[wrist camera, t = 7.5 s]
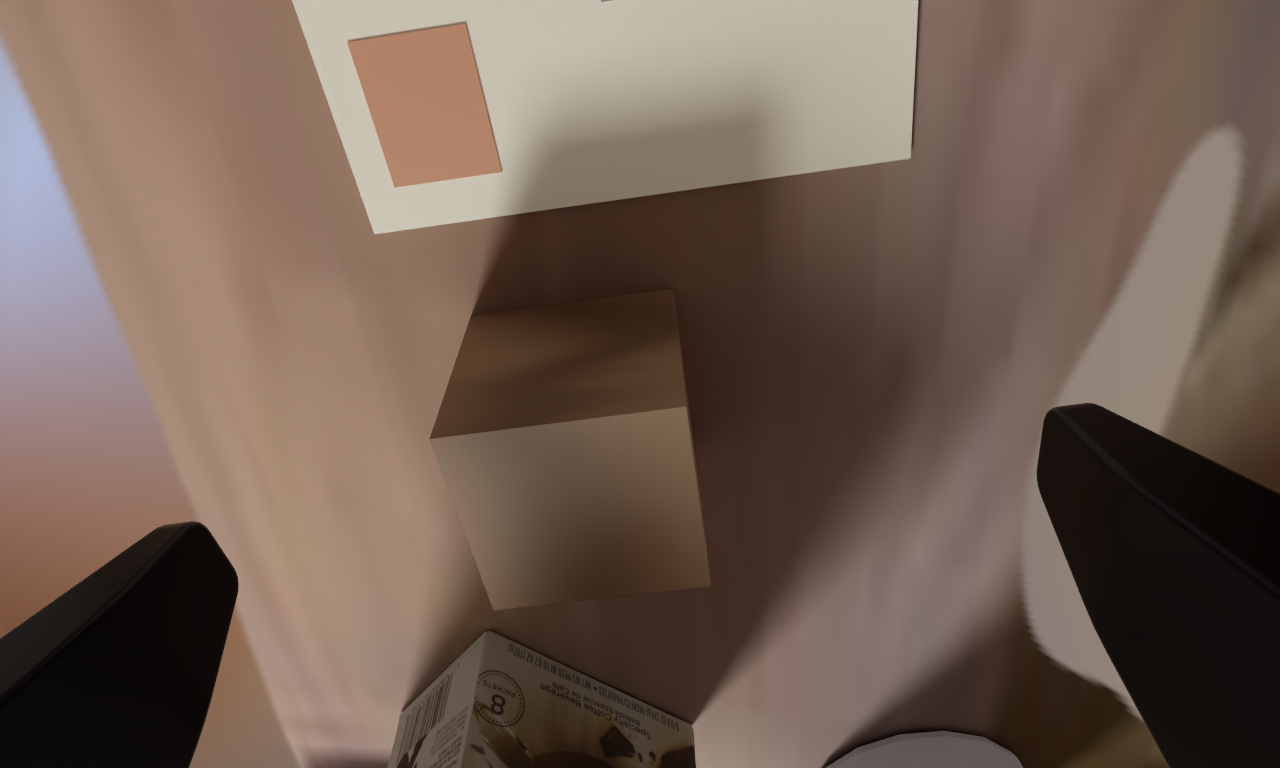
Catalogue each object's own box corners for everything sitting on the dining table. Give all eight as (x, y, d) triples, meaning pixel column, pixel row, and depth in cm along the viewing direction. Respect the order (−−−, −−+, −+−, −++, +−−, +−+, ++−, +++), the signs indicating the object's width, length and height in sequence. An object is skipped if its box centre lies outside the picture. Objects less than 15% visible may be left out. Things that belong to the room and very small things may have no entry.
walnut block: (673, 286, 19) (686, 406, 15) (695, 447, 22) (711, 586, 18) (471, 314, 20) (429, 438, 15) (518, 469, 22) (493, 610, 18)
